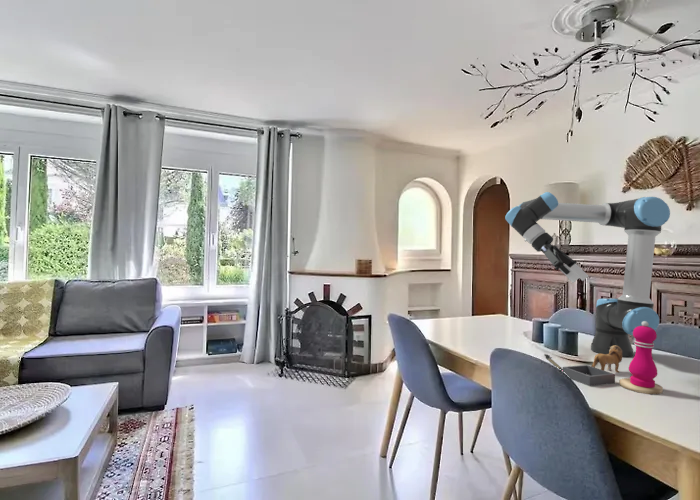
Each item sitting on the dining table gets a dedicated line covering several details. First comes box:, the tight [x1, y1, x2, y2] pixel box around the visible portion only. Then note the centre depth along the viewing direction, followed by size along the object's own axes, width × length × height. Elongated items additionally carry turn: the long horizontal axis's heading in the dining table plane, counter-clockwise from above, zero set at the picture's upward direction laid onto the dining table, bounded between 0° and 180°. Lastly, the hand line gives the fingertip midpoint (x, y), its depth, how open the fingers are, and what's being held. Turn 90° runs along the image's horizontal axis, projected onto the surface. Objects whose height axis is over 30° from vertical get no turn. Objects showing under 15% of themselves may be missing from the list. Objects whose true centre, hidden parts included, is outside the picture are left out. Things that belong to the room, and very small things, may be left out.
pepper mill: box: [628, 321, 658, 388], centre depth 123 cm, size 7×7×20 cm
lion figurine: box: [591, 345, 623, 374], centre depth 140 cm, size 15×5×9 cm, turn 117°
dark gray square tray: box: [562, 364, 616, 387], centre depth 131 cm, size 11×11×3 cm
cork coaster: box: [618, 377, 664, 395], centre depth 124 cm, size 11×11×1 cm
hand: (581, 279), depth 143 cm, fingers open, 13 cm apart
